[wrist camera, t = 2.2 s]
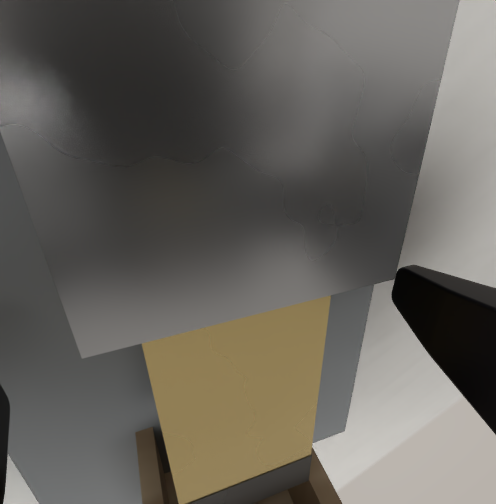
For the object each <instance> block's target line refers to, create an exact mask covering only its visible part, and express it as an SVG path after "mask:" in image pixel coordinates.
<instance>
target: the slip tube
mask: <svg viewBox="0 0 496 504" xmlns="http://www.w3.org/2000/svg"><path fill="white" fill-rule="evenodd" d="M330 299H331V295H330V296H326V297H322V298H318V299H314V300H310V301H306V302H302V303H299V304H295V305H291V306H287V307H283V308H279V309H275V310H271V311H267V312H263V313H259V314H255V315H251V316H248V317H244V318H240V319H236V320H232V321H228V322H224V323H220V324H216V325H212V326H208V327H204V328H200V329H197V330H193V331H189V332H185V333H181V334H177V335H173V336H169V337H165V338H161V339H157V340H153V341H149V342H146V343H142V347H143V352H144V356H145V360H146V365H147V369H148V373H149V378H150V382H151V386H152V391H153V395H154V399H155V404H156V408H157V412H158V416H159V421H160V425H161V429H162V434H163V438H164V442H165V447H166V451H167V455H168V460H169V464H170V468H171V473H172V477H173V481H174V486H175V490H176V495H177V501H178V504H253V503H256V502H258V501H261V500H263V499H266V498H268V497H270V496H273V495H275V494H278V493H280V492H282V491H285V490H287V489H290V488H292V487H294V486H297V485H299V484H302V483H304V482H307V481H309V474H310V467H311V459H312V455H311V450H312V442H313V434H314V426H315V418H316V410H317V402H318V395H319V387H320V379H321V371H322V363H323V355H324V347H325V339H326V331H327V323H328V315H329V307H330Z"/></svg>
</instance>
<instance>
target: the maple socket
mask: <svg viewBox="0 0 496 504" xmlns="http://www.w3.org/2000/svg"><path fill="white" fill-rule="evenodd" d="M135 434H136V444H137V454H138V465H139V475H140V485H141V495H142V504H178V501H177V495H176V490H175V486H174V481H173V477H172V473H171V471H170V472H168V473H165V474H164V471H163V467H162V463H161V459H160V455H159V451H158V447H157V443H156V439H155V435H154V431H153V427H150V428H147V429H144V430H141V431H138V432H135ZM311 455H312V459H311V467H310V474H309V481H307V482H304V483H302V484H299V485H297V486H294V487H292V488H290V489H287V490H285V491H282V492H280V493H278V494H275V495H273V496H270V497H268V498H266V499H263V500H261V501H258V502H256V503H253V504H342V502H341V500H340V499H339V497H338V495H337V493H336V491H335V489H334V487H333V485H332V483H331V482H330V480H329V478H328V476H327V474H326V472H325V470H324V468H323V466H322V465H321V463H320V461H319V459H318V457H317V455H316V453H315V451H314V450H313V448H312V450H311Z"/></svg>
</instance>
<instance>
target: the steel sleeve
mask: <svg viewBox="0 0 496 504" xmlns="http://www.w3.org/2000/svg"><path fill="white" fill-rule="evenodd" d="M458 5H459V0H0V132H1V135H2V138H3V140H4V143H5V146H6V149H7V152H8V154H9V157H10V160H11V163H12V166H13V168H14V171H15V174H16V177H17V179H18V182H19V185H20V188H21V191H22V193H23V196H24V199H25V202H26V204H27V207H28V210H29V213H30V216H31V218H32V221H33V224H34V227H35V230H36V232H37V235H38V238H39V241H40V243H41V246H42V249H43V252H44V255H45V257H46V260H47V263H48V266H49V269H50V271H51V274H52V277H53V280H54V282H55V285H56V288H57V291H58V294H59V296H60V299H61V302H62V305H63V308H64V310H65V313H66V316H67V319H68V321H69V324H70V327H71V330H72V333H73V335H74V338H75V341H76V344H77V347H78V349H79V352H80V355H81V358H82V359H83V358H87V357H91V356H95V355H98V354H102V353H106V352H110V351H114V350H118V349H122V348H126V347H130V346H134V345H138V344H142V343H146V342H149V341H153V340H157V339H161V338H165V337H169V336H173V335H177V334H181V333H185V332H189V331H193V330H197V329H200V328H204V327H208V326H212V325H216V324H220V323H224V322H228V321H232V320H236V319H240V318H244V317H248V316H251V315H255V314H259V313H263V312H267V311H271V310H275V309H279V308H283V307H287V306H291V305H295V304H299V303H302V302H306V301H310V300H314V299H318V298H322V297H326V296H330V295H334V294H338V293H342V292H346V291H350V290H353V289H357V288H361V287H365V286H369V285H373V284H377V283H381V282H385V281H389V280H393V279H395V275H396V271H397V267H398V262H399V258H400V254H401V250H402V245H403V241H404V237H405V232H406V228H407V224H408V219H409V215H410V211H411V207H412V202H413V198H414V194H415V189H416V185H417V181H418V176H419V172H420V168H421V164H422V159H423V155H424V151H425V146H426V142H427V138H428V134H429V129H430V125H431V121H432V116H433V112H434V108H435V103H436V99H437V95H438V91H439V86H440V82H441V78H442V73H443V69H444V65H445V60H446V56H447V52H448V48H449V43H450V39H451V35H452V30H453V26H454V22H455V18H456V13H457V9H458Z"/></svg>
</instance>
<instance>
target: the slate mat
mask: <svg viewBox="0 0 496 504" xmlns="http://www.w3.org/2000/svg"><path fill="white" fill-rule="evenodd" d="M373 286H374V284H373V285H369V286H365V287H361V288H357V289H353V290H350V291H346V292H342V293H338V294H334V295H331V299H330V307H329V315H328V323H327V331H326V339H325V347H324V355H323V363H322V371H321V379H320V387H319V395H318V402H317V410H316V418H315V426H314V434H313V442H312V443H315V442H317V441H320V440H322V439H325V438H328V437H330V436H333V435H335V434H338V433H341V432H343V431H345V427H346V422H347V417H348V412H349V407H350V402H351V397H352V392H353V387H354V382H355V377H356V372H357V367H358V362H359V356H360V351H361V346H362V341H363V336H364V331H365V326H366V321H367V316H368V311H369V306H370V301H371V296H372V291H373ZM0 384H1V386H2V388H3V389H4V391H5V393H6V395H7V397H8V399H9V403H10V422H9V438H8V454H9V456H10V458H11V459H12V461H13V462H14V464H15V465H16V467H17V469H18V470H19V472H20V473H21V475H22V477H23V478H24V480H25V481H26V483H27V485H28V486H29V488H30V489H31V491H32V493H33V494H34V496H35V497H36V499H37V501H38V502H39V504H142V495H141V485H140V475H139V465H138V454H137V444H136V434H135V432H138V431H141V430H144V429H147V428H150V427H153V431H154V435H155V439H156V443H157V447H158V451H159V455H160V459H161V463H162V467H163V471H164V474H165V473H168V472H170V471H171V468H170V464H169V460H168V455H167V451H166V447H165V442H164V438H163V434H162V429H161V425H160V421H159V416H158V412H157V408H156V404H155V399H154V395H153V391H152V386H151V382H150V378H149V373H148V369H147V365H146V360H145V356H144V352H143V347H142V344H138V345H134V346H130V347H126V348H122V349H118V350H114V351H110V352H106V353H102V354H98V355H95V356H91V357H87V358H83V359H82V358H81V355H80V352H79V349H78V347H77V344H76V341H75V338H74V335H73V333H72V330H71V327H70V324H69V321H68V319H67V316H66V313H65V310H64V308H63V305H62V302H61V299H60V296H59V294H58V291H57V288H56V285H55V282H54V280H53V277H52V274H51V271H50V269H49V266H48V263H47V260H46V257H45V255H44V252H43V249H42V246H41V243H40V241H39V238H38V235H37V232H36V230H35V227H34V224H33V221H32V218H31V216H30V213H29V210H28V207H27V204H26V202H25V199H24V196H23V193H22V191H21V188H20V185H19V182H18V179H17V177H16V174H15V171H14V168H13V166H12V163H11V160H10V157H9V154H8V152H7V149H6V146H5V143H4V140H3V138H2V135H1V132H0Z"/></svg>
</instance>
